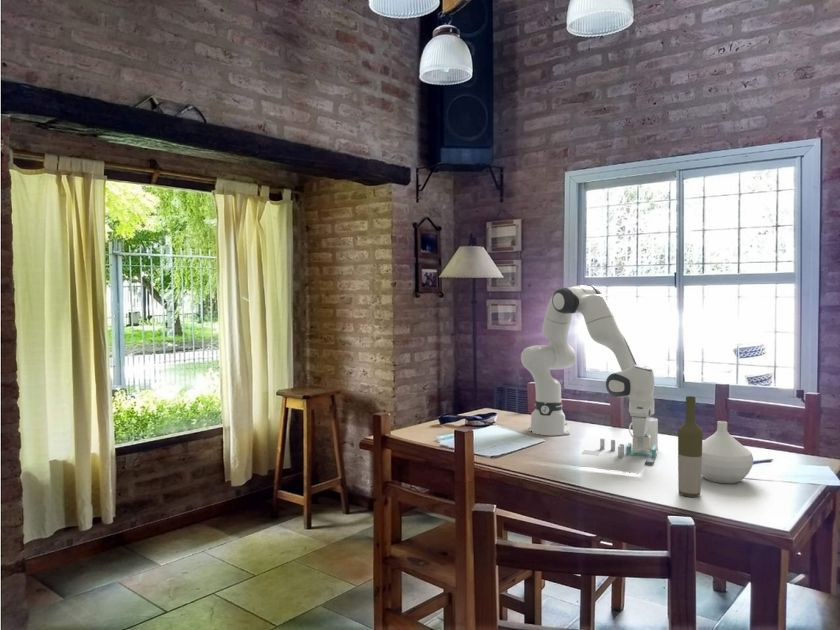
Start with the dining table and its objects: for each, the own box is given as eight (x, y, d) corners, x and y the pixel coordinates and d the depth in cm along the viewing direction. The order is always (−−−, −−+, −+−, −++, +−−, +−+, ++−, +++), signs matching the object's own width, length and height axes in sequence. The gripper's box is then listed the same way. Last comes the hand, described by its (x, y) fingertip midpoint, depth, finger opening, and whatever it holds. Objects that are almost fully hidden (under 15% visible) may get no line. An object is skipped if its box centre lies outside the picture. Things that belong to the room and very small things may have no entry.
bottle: (681, 489, 194) (682, 394, 193) (705, 494, 189) (706, 396, 188) (673, 495, 189) (674, 397, 188) (697, 500, 184) (698, 399, 183)
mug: (623, 446, 250) (624, 417, 249) (636, 443, 255) (636, 414, 254) (650, 452, 240) (650, 421, 240) (662, 449, 245) (662, 419, 245)
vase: (750, 491, 192) (751, 430, 192) (687, 482, 202) (687, 423, 201) (754, 476, 208) (755, 420, 207) (695, 468, 217) (696, 414, 217)
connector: (633, 446, 236) (633, 433, 235) (650, 448, 233) (650, 434, 233) (632, 449, 232) (632, 435, 232) (649, 450, 229) (649, 436, 229)
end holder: (628, 450, 238) (628, 442, 238) (656, 453, 234) (656, 445, 234) (626, 454, 232) (626, 446, 232) (654, 457, 227) (654, 449, 227)
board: (586, 448, 246) (587, 435, 246) (656, 455, 235) (656, 442, 235) (579, 457, 233) (579, 443, 232) (653, 465, 221) (653, 451, 221)
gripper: (636, 403, 243) (635, 438, 243) (629, 412, 224) (629, 450, 225) (653, 404, 240) (652, 440, 240) (647, 413, 222) (647, 452, 222)
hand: (641, 445), depth 232 cm, fingers closed on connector, 4 cm apart
